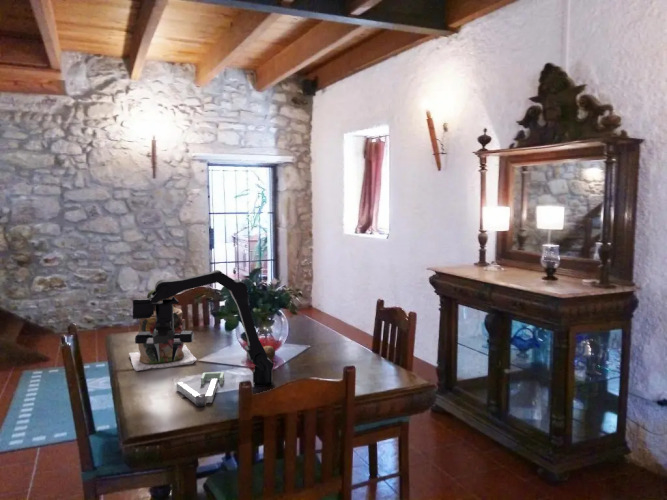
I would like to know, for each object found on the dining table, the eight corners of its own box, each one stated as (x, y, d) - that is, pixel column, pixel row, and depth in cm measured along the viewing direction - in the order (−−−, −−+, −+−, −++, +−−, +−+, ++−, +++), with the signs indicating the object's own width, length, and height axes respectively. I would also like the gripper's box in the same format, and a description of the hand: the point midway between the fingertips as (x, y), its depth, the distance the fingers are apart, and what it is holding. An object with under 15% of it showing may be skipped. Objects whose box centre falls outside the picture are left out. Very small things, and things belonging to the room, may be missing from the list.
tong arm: (183, 388, 190) (183, 380, 190) (206, 405, 175) (206, 396, 175) (175, 389, 189) (175, 382, 188) (198, 407, 173) (197, 399, 173)
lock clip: (224, 378, 201) (224, 372, 200) (222, 384, 195) (222, 377, 194) (203, 379, 200) (203, 372, 200) (200, 384, 194) (200, 378, 194)
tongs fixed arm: (217, 385, 194) (217, 378, 193) (211, 402, 177) (211, 395, 177) (212, 385, 193) (211, 378, 193) (205, 402, 177) (205, 395, 177)
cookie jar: (127, 356, 229) (125, 283, 226) (185, 349, 240) (184, 279, 237) (135, 373, 207) (132, 292, 204) (198, 364, 218) (196, 287, 215)
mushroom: (268, 347, 231) (265, 339, 226) (280, 358, 226) (278, 349, 222) (253, 359, 227) (251, 350, 223) (265, 370, 222) (263, 361, 218)
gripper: (129, 323, 173) (131, 369, 174) (188, 322, 175) (189, 368, 176) (138, 315, 184) (140, 359, 185) (193, 314, 186) (194, 358, 187)
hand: (165, 361), depth 183 cm, fingers open, 5 cm apart
